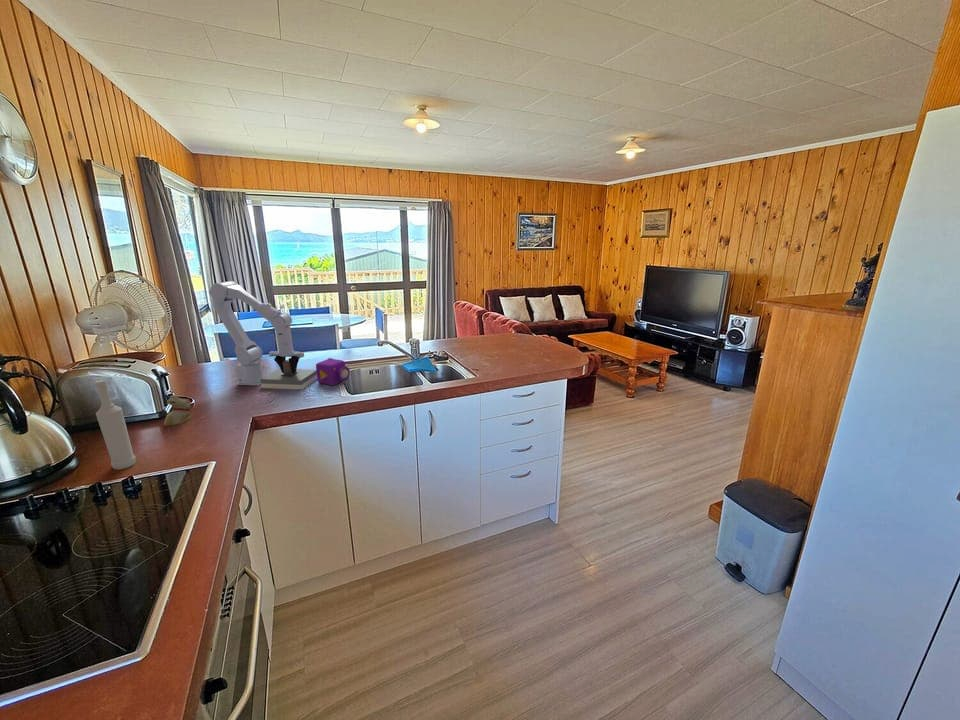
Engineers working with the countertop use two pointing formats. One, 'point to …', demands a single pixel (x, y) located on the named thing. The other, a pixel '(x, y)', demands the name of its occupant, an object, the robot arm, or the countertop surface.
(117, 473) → the countertop surface
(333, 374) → the toy camera
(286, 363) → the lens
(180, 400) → the chocolate bunny
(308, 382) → the white flat box
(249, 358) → the robot arm
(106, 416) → the bottle
